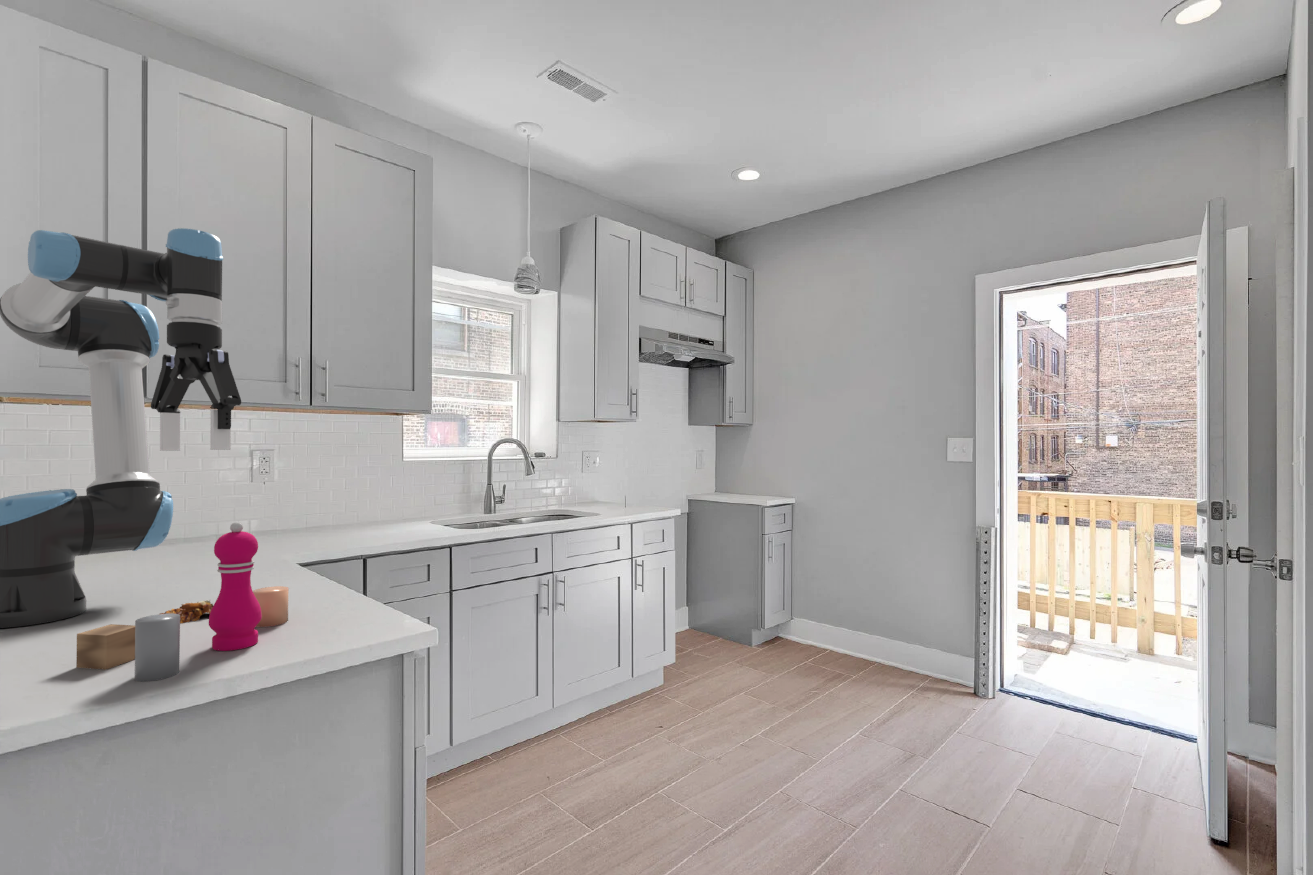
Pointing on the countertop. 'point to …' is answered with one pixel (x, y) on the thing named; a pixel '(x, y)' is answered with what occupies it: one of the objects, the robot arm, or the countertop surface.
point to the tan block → (106, 646)
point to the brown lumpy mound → (191, 611)
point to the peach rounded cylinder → (272, 605)
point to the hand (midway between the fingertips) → (194, 450)
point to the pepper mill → (235, 592)
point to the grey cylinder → (157, 647)
